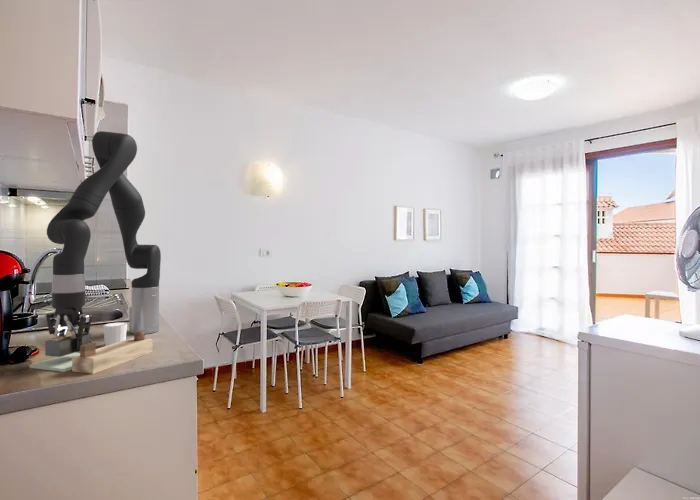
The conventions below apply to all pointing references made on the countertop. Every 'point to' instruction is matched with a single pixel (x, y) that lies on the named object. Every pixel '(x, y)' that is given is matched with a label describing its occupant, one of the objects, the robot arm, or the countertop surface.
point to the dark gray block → (63, 345)
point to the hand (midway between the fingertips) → (68, 350)
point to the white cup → (114, 332)
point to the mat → (56, 363)
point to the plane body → (111, 354)
